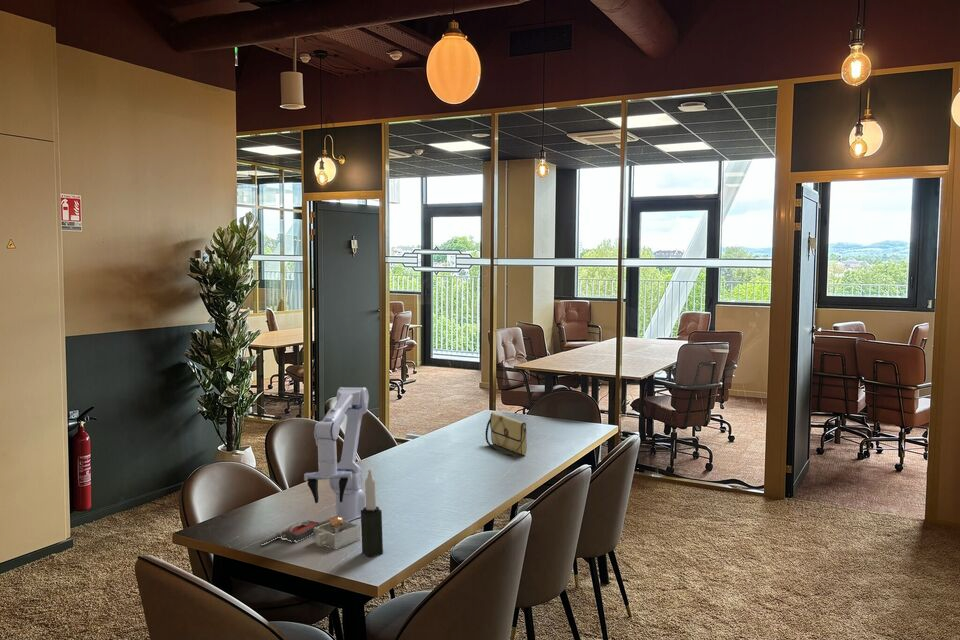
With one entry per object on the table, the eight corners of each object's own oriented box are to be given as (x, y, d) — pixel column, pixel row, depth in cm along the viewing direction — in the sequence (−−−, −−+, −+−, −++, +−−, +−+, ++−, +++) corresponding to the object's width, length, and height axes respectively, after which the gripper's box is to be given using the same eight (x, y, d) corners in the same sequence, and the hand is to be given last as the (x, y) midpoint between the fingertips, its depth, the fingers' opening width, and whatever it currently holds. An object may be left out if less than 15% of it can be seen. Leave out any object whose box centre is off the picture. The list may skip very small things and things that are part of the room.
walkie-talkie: (302, 527, 241) (258, 548, 224) (302, 513, 241) (257, 534, 223) (324, 531, 237) (280, 553, 220) (323, 517, 237) (279, 538, 219)
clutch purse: (481, 445, 343) (481, 413, 342) (494, 443, 346) (493, 411, 345) (516, 459, 317) (515, 424, 316) (529, 456, 321) (529, 422, 320)
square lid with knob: (338, 533, 232) (337, 512, 232) (355, 538, 228) (354, 517, 227) (318, 540, 226) (318, 519, 226) (335, 546, 222) (334, 524, 221)
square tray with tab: (339, 532, 234) (338, 518, 234) (360, 539, 228) (359, 525, 227) (308, 544, 225) (307, 529, 224) (329, 551, 218) (329, 537, 218)
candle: (368, 557, 213) (365, 473, 211) (360, 552, 217) (357, 469, 216) (384, 553, 216) (381, 469, 214) (376, 548, 220) (373, 466, 219)
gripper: (301, 463, 227) (303, 506, 228) (348, 461, 228) (350, 505, 229) (306, 457, 234) (307, 499, 235) (352, 456, 235) (353, 498, 236)
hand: (329, 501), depth 233 cm, fingers open, 7 cm apart
